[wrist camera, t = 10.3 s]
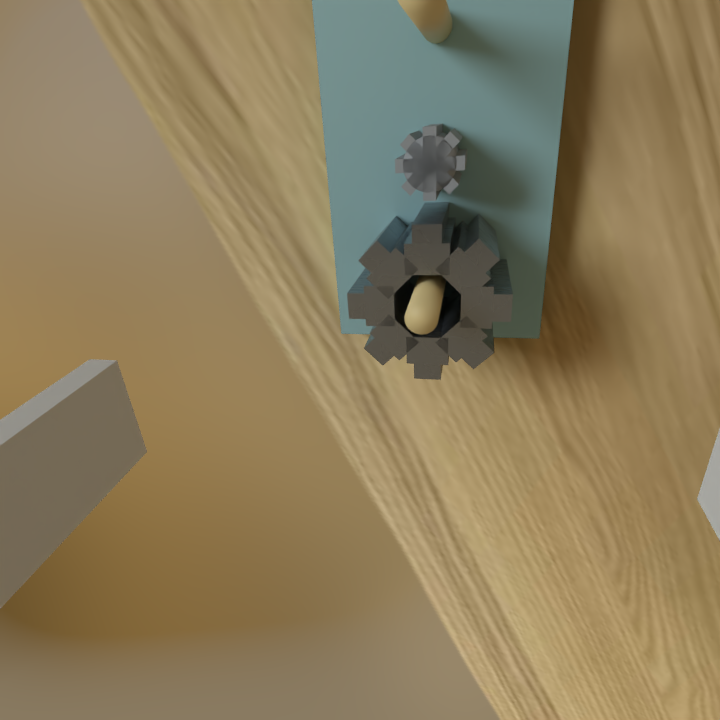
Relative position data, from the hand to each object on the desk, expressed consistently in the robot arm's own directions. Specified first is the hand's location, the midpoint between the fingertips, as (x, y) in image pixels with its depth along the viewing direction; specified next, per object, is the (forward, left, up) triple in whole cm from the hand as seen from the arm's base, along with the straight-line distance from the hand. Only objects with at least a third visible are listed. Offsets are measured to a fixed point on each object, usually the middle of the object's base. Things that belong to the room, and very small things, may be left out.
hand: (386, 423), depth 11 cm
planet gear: (+1, 0, -14) cm, 14 cm away
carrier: (-4, 0, -16) cm, 16 cm away
